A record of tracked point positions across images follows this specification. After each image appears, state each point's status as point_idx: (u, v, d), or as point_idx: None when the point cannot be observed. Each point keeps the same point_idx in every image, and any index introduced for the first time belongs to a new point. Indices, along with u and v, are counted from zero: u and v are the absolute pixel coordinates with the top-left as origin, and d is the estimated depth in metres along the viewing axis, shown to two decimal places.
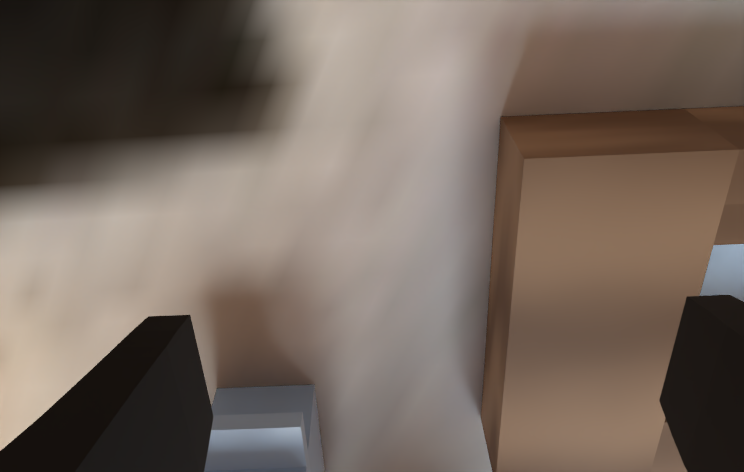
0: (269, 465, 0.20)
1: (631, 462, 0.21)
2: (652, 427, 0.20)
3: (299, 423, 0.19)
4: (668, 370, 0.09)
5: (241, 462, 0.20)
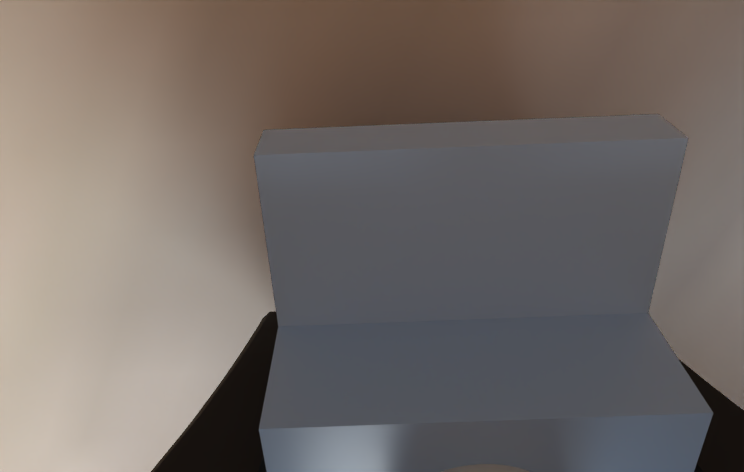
0: (532, 304, 0.06)
1: None
2: None
3: (675, 132, 0.05)
4: None
5: (441, 294, 0.06)
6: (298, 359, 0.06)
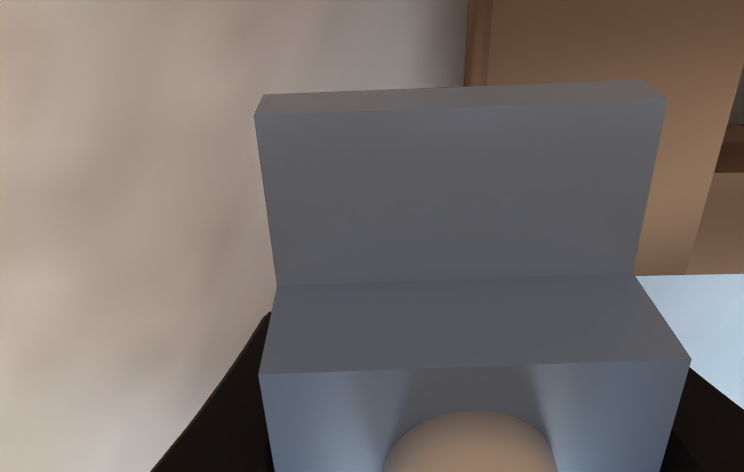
0: (520, 264, 0.06)
1: (663, 244, 0.15)
2: (696, 181, 0.14)
3: (656, 94, 0.05)
4: None
5: (434, 254, 0.06)
6: (296, 314, 0.06)
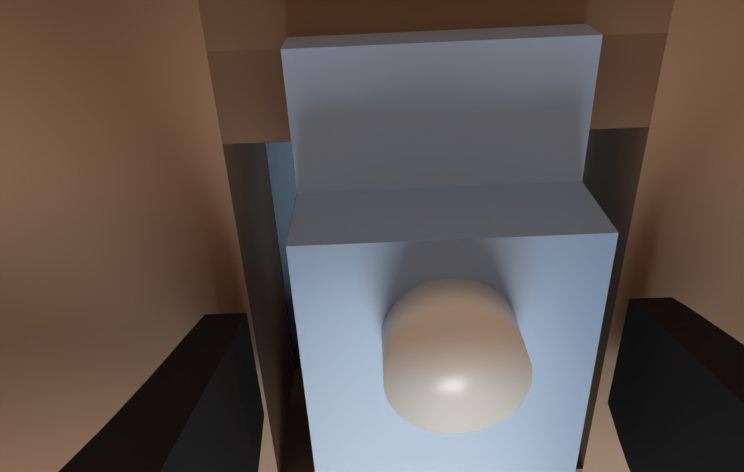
0: (491, 173, 0.08)
1: None
2: None
3: (593, 32, 0.07)
4: (614, 372, 0.09)
5: (422, 165, 0.08)
6: (313, 210, 0.07)
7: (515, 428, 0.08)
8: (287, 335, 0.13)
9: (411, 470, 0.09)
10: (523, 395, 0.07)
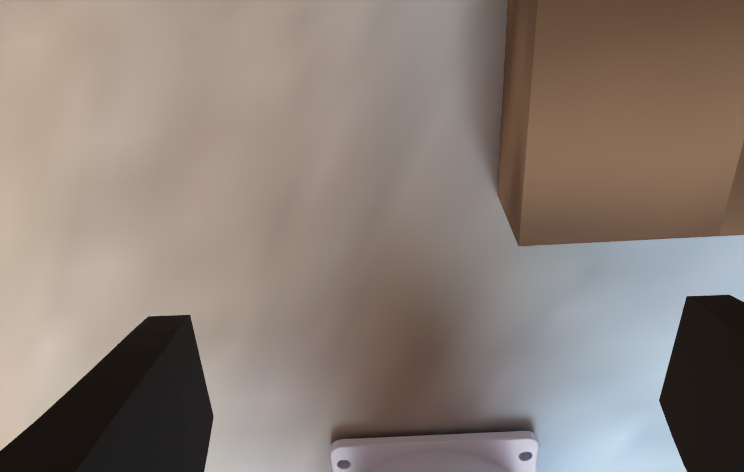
0: None
1: (697, 207, 0.16)
2: (728, 147, 0.15)
3: None
4: (668, 370, 0.09)
5: None
6: None
7: None
8: None
9: None
10: None
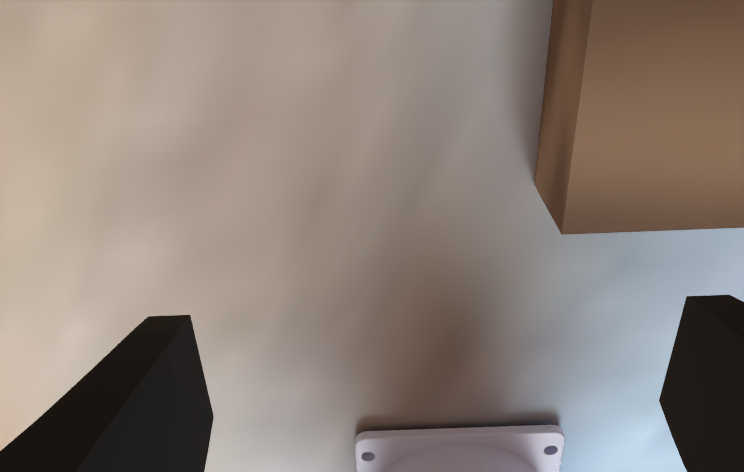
0: None
1: (742, 197, 0.16)
2: None
3: None
4: (668, 370, 0.09)
5: None
6: None
7: None
8: None
9: None
10: None
